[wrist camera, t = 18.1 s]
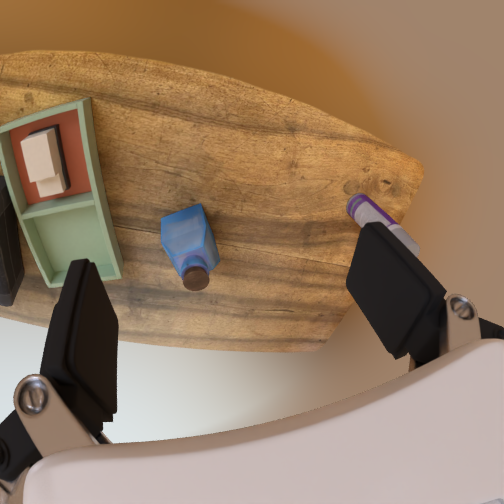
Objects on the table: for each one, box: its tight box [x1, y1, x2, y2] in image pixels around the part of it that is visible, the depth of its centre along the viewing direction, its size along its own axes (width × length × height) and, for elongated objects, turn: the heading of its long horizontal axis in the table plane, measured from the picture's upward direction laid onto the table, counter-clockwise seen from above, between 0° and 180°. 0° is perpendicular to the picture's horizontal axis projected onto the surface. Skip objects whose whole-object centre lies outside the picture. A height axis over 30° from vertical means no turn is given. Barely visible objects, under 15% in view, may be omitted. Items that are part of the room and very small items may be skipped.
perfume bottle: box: [161, 203, 220, 291], centre depth 38 cm, size 6×6×12 cm
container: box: [346, 193, 420, 257], centre depth 43 cm, size 5×5×15 cm
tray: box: [0, 97, 124, 288], centre depth 33 cm, size 14×26×4 cm, turn 179°
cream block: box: [21, 124, 71, 198], centre depth 28 cm, size 9×4×4 cm, turn 179°
